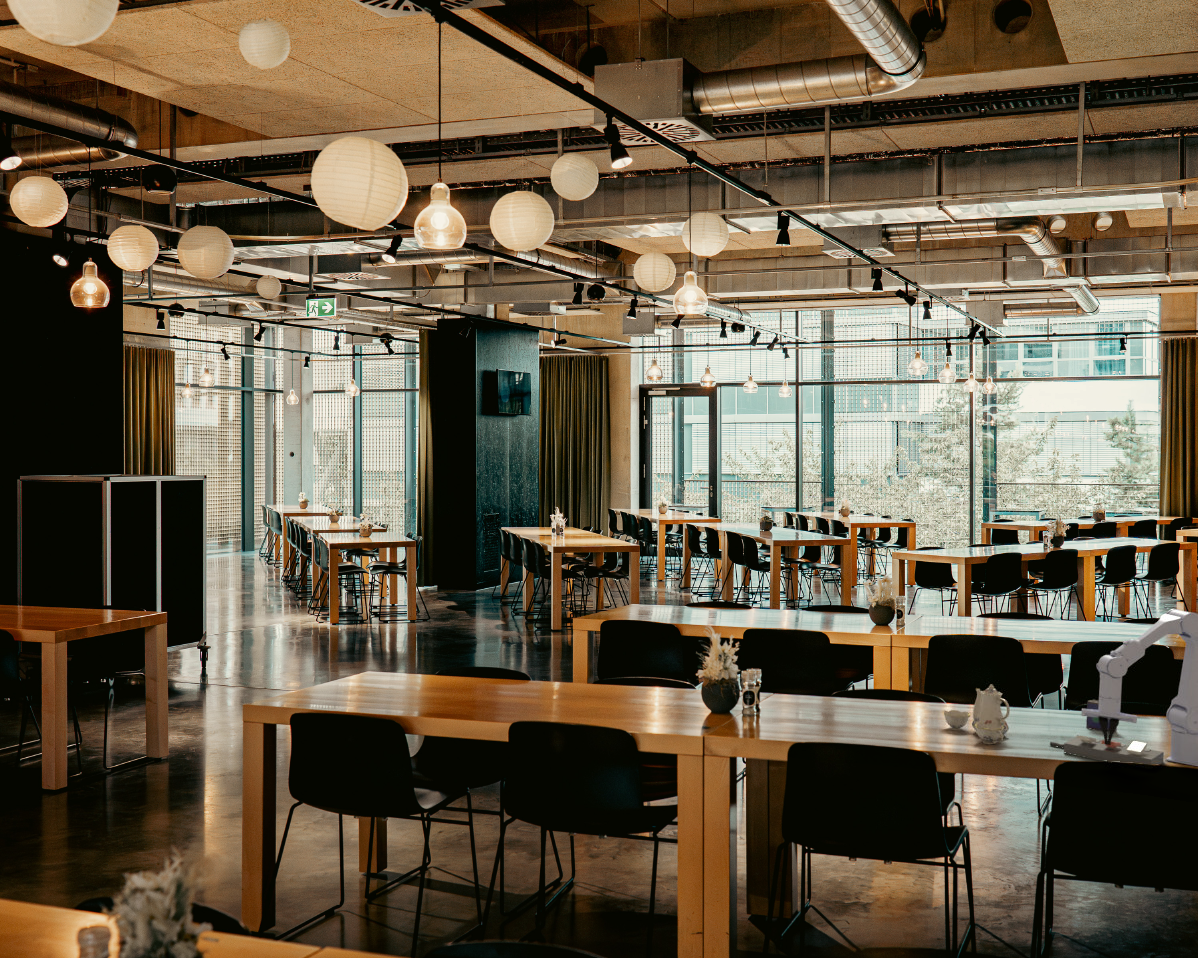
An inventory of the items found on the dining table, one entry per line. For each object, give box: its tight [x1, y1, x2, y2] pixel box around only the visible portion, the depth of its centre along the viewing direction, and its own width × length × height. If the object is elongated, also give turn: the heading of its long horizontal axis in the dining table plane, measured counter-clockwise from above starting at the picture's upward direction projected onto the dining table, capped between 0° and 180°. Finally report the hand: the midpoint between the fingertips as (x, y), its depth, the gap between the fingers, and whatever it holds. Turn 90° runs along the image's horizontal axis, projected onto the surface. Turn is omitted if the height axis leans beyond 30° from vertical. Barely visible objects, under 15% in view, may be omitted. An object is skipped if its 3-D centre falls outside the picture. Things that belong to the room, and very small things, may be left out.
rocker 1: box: [1076, 734, 1097, 743], centre depth 320 cm, size 4×6×2 cm, turn 138°
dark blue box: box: [1085, 699, 1118, 733], centre depth 351 cm, size 9×3×11 cm, turn 51°
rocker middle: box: [1101, 739, 1122, 748], centre depth 315 cm, size 4×6×2 cm, turn 138°
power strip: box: [1049, 736, 1165, 765], centre depth 319 cm, size 30×12×3 cm, turn 47°
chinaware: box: [942, 684, 1011, 745], centre depth 340 cm, size 28×17×17 cm, turn 20°
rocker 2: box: [1127, 740, 1148, 755], centre depth 311 cm, size 4×6×2 cm, turn 137°
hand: (1107, 743), depth 313 cm, fingers closed, pressing on rocker middle
